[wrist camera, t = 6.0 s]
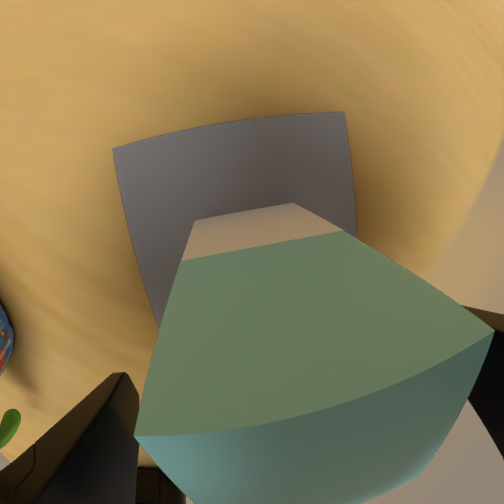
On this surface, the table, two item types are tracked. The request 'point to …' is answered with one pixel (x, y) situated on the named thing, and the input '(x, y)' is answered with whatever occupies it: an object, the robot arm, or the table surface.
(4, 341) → the snack cup
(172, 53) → the table surface
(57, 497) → the robot arm
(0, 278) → the table surface
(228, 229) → the white block
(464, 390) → the teal block
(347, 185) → the mat
